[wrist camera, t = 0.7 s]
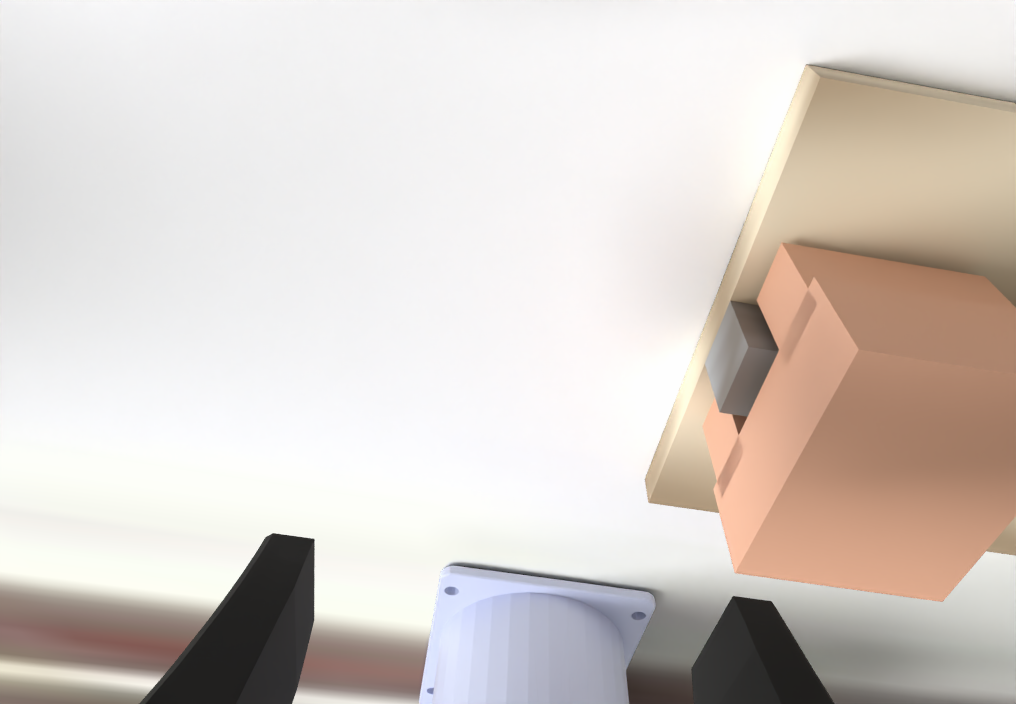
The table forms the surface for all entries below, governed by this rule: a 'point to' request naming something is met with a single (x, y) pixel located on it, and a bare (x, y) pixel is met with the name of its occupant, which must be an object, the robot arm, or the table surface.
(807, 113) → the rail board
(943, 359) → the block
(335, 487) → the table surface
